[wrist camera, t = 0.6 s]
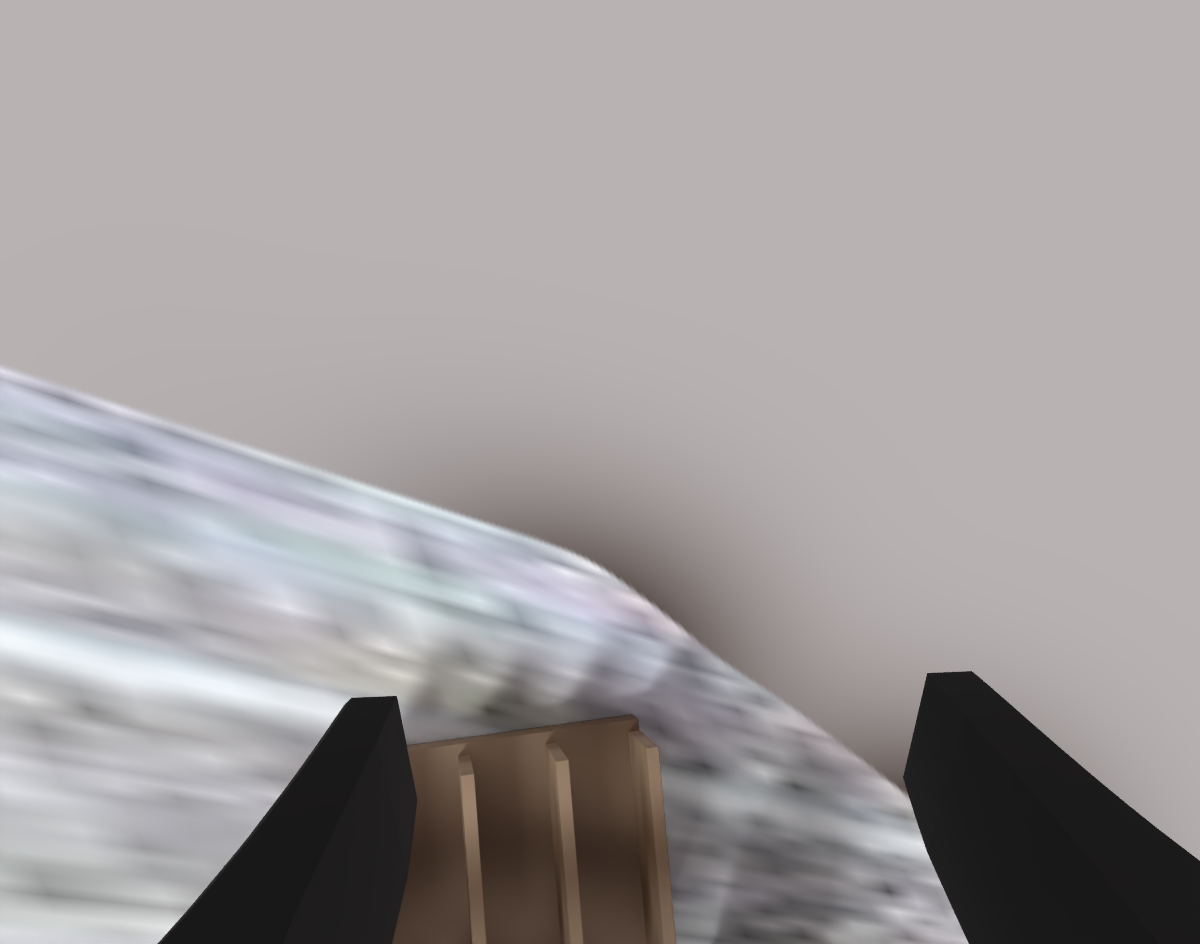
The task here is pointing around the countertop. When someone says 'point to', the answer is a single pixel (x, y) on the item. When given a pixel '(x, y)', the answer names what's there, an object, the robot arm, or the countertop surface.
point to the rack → (539, 839)
